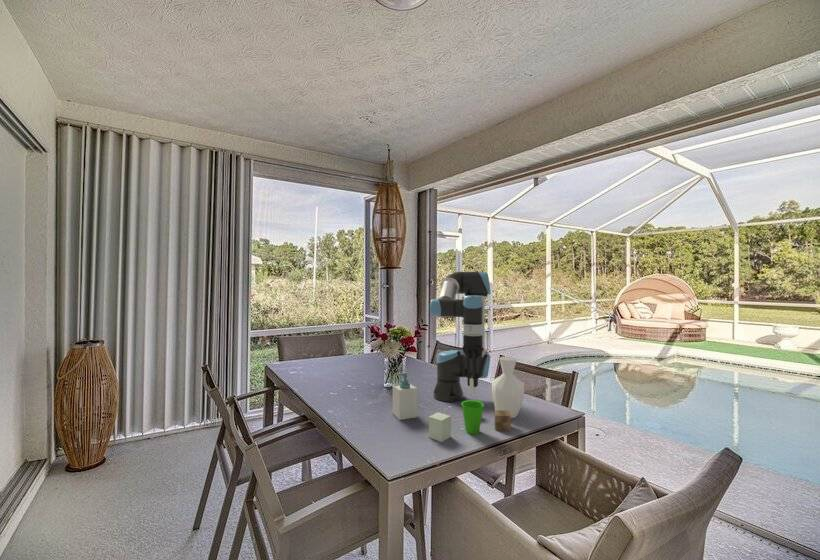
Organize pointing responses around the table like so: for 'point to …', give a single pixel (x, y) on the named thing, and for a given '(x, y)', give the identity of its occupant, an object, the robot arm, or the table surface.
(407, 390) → the soap bottle
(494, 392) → the vase
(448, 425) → the sage block
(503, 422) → the walnut block
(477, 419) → the cup
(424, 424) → the table surface
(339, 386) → the table surface
